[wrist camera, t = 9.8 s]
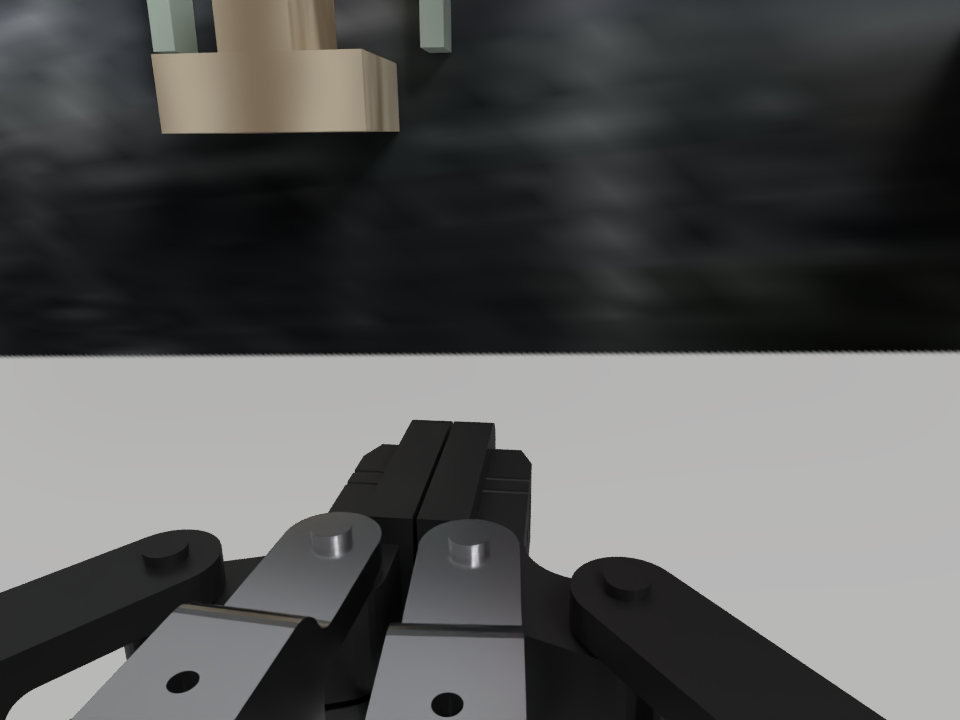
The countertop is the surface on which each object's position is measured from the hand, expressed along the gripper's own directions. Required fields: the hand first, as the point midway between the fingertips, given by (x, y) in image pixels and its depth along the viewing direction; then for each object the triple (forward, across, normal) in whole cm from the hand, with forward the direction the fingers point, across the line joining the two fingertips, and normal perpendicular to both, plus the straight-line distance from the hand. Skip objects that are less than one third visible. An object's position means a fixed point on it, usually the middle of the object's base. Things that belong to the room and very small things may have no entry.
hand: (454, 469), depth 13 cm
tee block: (+29, +12, -11) cm, 33 cm away
